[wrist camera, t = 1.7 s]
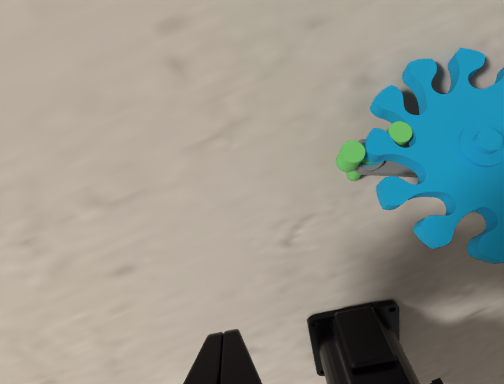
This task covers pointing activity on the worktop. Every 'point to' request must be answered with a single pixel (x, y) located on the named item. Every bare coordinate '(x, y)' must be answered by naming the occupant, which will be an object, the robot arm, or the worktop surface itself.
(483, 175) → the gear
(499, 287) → the worktop surface
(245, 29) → the worktop surface
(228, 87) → the worktop surface
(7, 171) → the worktop surface
